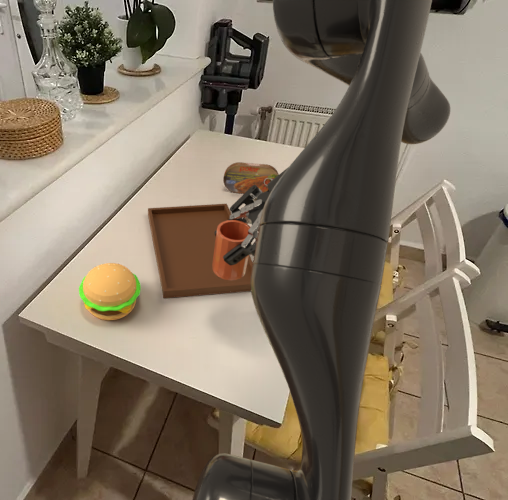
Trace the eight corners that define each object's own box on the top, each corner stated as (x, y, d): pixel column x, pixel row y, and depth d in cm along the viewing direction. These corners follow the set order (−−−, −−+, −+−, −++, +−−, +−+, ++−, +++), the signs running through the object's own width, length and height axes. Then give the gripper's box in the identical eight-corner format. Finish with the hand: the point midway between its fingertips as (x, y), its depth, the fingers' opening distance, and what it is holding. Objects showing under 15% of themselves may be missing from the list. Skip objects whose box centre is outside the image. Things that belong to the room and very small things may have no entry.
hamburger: (144, 285, 91) (144, 254, 85) (136, 329, 82) (135, 298, 76) (88, 280, 92) (85, 249, 86) (74, 323, 83) (69, 292, 77)
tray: (260, 290, 90) (262, 283, 89) (163, 298, 88) (163, 291, 87) (225, 210, 113) (226, 203, 111) (147, 214, 110) (147, 208, 109)
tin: (221, 191, 119) (225, 164, 114) (222, 185, 122) (225, 159, 116) (276, 197, 118) (282, 170, 112) (276, 191, 120) (282, 164, 115)
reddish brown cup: (249, 279, 73) (257, 240, 68) (216, 281, 73) (221, 243, 67) (240, 256, 78) (247, 218, 72) (209, 259, 77) (213, 221, 72)
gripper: (277, 147, 69) (199, 212, 75) (312, 196, 58) (217, 267, 65) (301, 174, 73) (225, 234, 79) (338, 225, 62) (246, 289, 68)
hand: (222, 248), depth 72 cm, fingers closed on reddish brown cup, 6 cm apart
